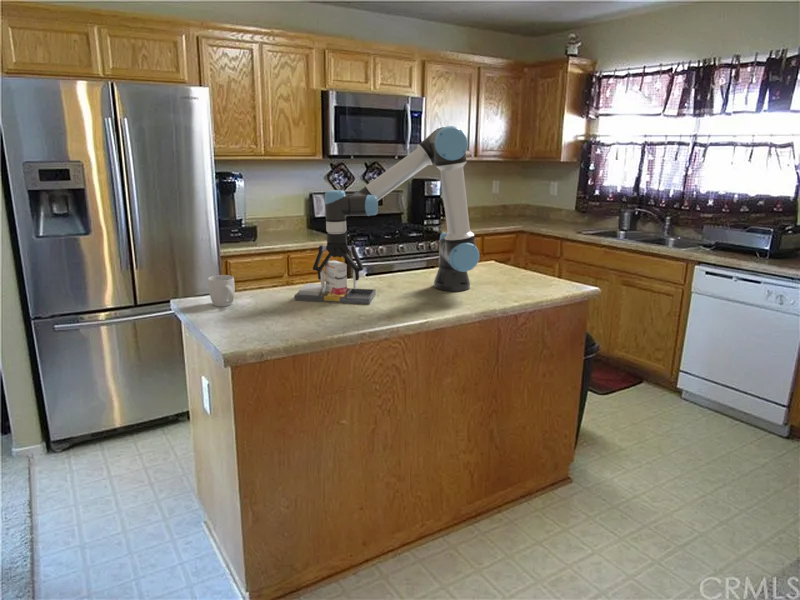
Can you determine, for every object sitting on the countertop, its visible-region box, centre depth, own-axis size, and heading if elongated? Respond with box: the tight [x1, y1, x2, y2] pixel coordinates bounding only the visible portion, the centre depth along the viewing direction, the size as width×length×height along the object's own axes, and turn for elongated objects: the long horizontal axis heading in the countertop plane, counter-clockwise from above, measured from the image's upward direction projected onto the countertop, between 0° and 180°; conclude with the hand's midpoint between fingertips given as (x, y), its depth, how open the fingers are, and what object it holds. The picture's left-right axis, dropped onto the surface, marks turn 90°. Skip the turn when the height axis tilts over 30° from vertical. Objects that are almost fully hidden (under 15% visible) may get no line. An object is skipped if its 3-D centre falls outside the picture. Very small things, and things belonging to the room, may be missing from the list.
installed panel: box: [298, 283, 326, 296], centre depth 213 cm, size 8×11×3 cm
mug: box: [207, 274, 236, 308], centre depth 198 cm, size 13×9×10 cm
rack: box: [294, 287, 377, 305], centre depth 213 cm, size 29×14×2 cm, turn 83°
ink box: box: [324, 260, 348, 295], centre depth 211 cm, size 8×5×12 cm, turn 39°
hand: (339, 288), depth 212 cm, fingers open, 12 cm apart
